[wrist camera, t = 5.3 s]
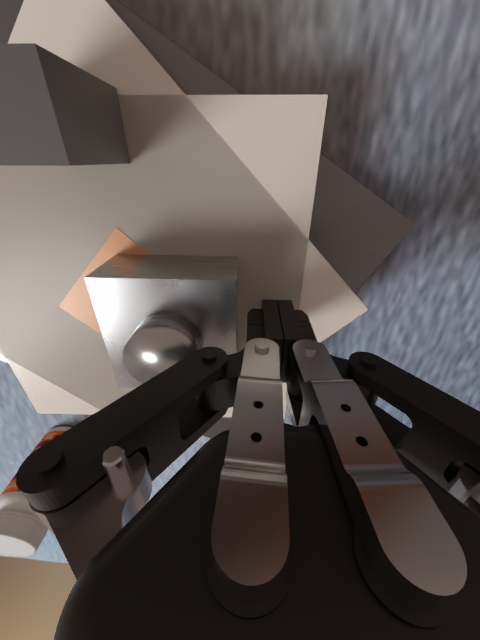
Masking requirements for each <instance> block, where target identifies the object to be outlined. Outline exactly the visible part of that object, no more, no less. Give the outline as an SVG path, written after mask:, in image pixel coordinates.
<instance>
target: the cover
mask: <svg viewBox="0 0 480 640" xmlns="http://www.w3.org/2000/svg"><path fill="white" fill-rule="evenodd" d="M84 278H85V281H86V284H87V288H88V291H89V294H90V297H91V301H92V304H93V307H94V310H95V313H96V317H97V320H98V323H99V326H100V329H101V333H102V336H103V339H104V342H105V346H106V349H107V352H108V355H109V358H110V362H111V365H112V368H113V371H114V374H115V378H116V381H117V384H118V387H127V388H137V387H138V386H140V385H142V384H143V383H145V382H146V381H148V380H150V379H151V378H153V377H155V376H156V375H158V374H159V373H161V372H163V371H164V370H166V369H168V368H169V367H171V366H172V365H174V364H176V363H177V362H179V361H181V360H182V359H184V358H185V357H187V356H189V355H190V354H192V353H193V352H195V351H197V350H199V349H201V348H204V347H218V348H221V349H223V350H224V351H225V352H226V353H227V355H230V354H234V353H237V341H238V257H233V256H184V255H134V254H116V255H114V256H113V257H112V258H110V259H109V260H108V261H106V262H105V263H103V264H102V265H101V266H99V267H98V268H97V269H95V270H94V271H92V272H91V273H90V274H88V275H87V276H86V277H84Z"/></svg>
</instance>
